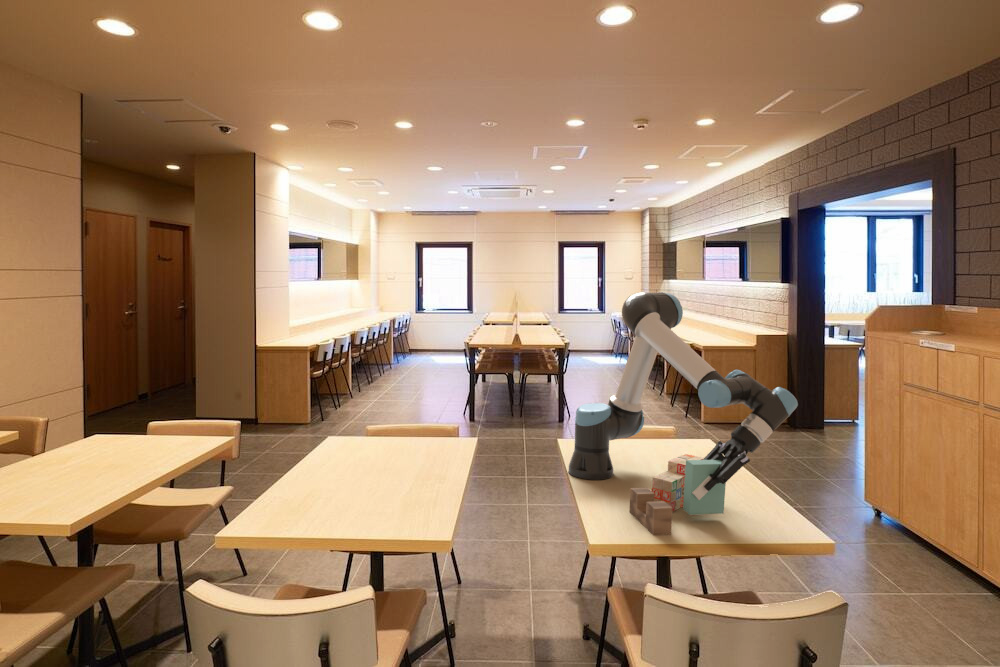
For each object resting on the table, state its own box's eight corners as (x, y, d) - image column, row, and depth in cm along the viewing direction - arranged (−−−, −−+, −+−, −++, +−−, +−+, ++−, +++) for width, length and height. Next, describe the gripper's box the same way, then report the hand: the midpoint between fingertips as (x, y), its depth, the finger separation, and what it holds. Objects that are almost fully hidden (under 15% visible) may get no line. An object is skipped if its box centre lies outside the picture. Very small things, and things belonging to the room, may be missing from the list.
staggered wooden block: (629, 512, 175) (630, 488, 174) (646, 511, 176) (647, 487, 175) (653, 535, 159) (654, 508, 159) (671, 534, 160) (672, 507, 159)
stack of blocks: (670, 513, 175) (672, 471, 174) (650, 508, 179) (652, 466, 178) (703, 496, 190) (705, 457, 189) (684, 491, 195) (686, 453, 194)
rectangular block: (682, 509, 171) (686, 460, 170) (715, 508, 173) (719, 459, 172) (689, 514, 168) (693, 464, 166) (723, 513, 169) (727, 463, 168)
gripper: (726, 417, 178) (669, 474, 177) (760, 432, 161) (698, 495, 160) (741, 435, 180) (685, 491, 178) (777, 451, 163) (715, 514, 162)
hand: (691, 493), depth 169 cm, fingers closed on rectangular block, 4 cm apart
